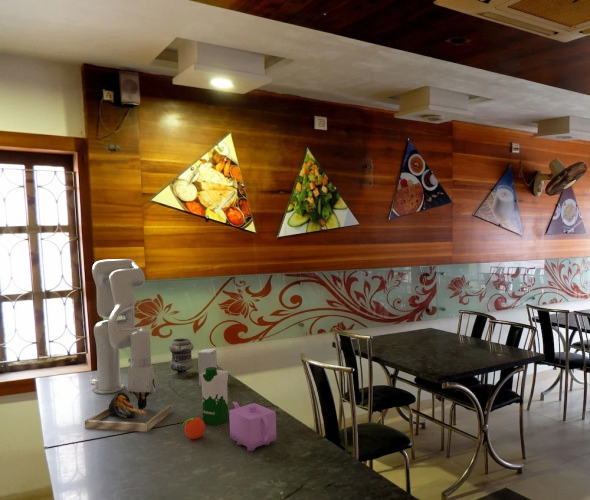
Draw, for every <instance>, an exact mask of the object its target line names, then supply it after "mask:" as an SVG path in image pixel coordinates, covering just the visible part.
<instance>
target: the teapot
mask: <svg viewBox="0 0 590 500" xmlns="http://www.w3.org/2000/svg"><path fill="white" fill-rule="evenodd" d="M231 403H232V404H233V406H234V408H233V409H230V410H228V414H229V438H230V439H232V440H233V441H236V444H235V445H238V446H245V447H246V450H247V451H248V452H253V451H255V450H256V448H258V447H261V446H269V445H270V444H271V443H272V442H274V441H276V440H277V414H276V413H277V411H275V410H272V409H270V408H268V407H266V406H262V405H260V404H258V403H255V402H253V403H249V404H246V405H243V406H240V404H239V403H238V402H237V401H231Z"/></svg>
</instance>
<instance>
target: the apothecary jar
mask: <svg viewBox="0 0 590 500" xmlns="http://www.w3.org/2000/svg"><path fill="white" fill-rule="evenodd" d="M168 350H169V351H170V352H171V361H170V362H169V364H168V366H169V368H170V369H171V370H172V371H175V373H173V374H172V375H171V377H172V378H173V379H185V378H188V377H189V378H190V377H191V376H193V373H192V372H190V371H189V370H191V369H192V368H193V367H194V366H195V361H194V360H193V358H192V351H193V350H194V344H193V343H192V342H191V339H190V338H188V337H179V338H174V339H173V340H172V344H170V346H169V347H168Z"/></svg>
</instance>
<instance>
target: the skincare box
mask: <svg viewBox="0 0 590 500" xmlns="http://www.w3.org/2000/svg"><path fill="white" fill-rule="evenodd" d="M217 355H218V354H217V348H204V349H202V350H200V351H198V352H197V359H198V361H197V362H198V382H199V383H198V384H199V385H198V386H199V387H200V386H201V387H202V383H201V378H200V374H202V373H204V372H206V368H209V367H216V368H217V369H218V357H217Z"/></svg>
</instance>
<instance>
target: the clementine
mask: <svg viewBox="0 0 590 500" xmlns="http://www.w3.org/2000/svg"><path fill="white" fill-rule="evenodd" d="M184 424H185V425H184ZM183 426H184V427H183ZM181 428H184V433H185V434H184V435H186V437H187V438H189V439H191V440H196V439H197V440H198V439H199V438H201V437H202V436H203V434H204V433H205V432H206V423H204V422H203V418H201V417H199V416H198V417H197V416H194V417H190V418H188V419H186V420H185V421H183V422H182V425H181Z"/></svg>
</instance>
